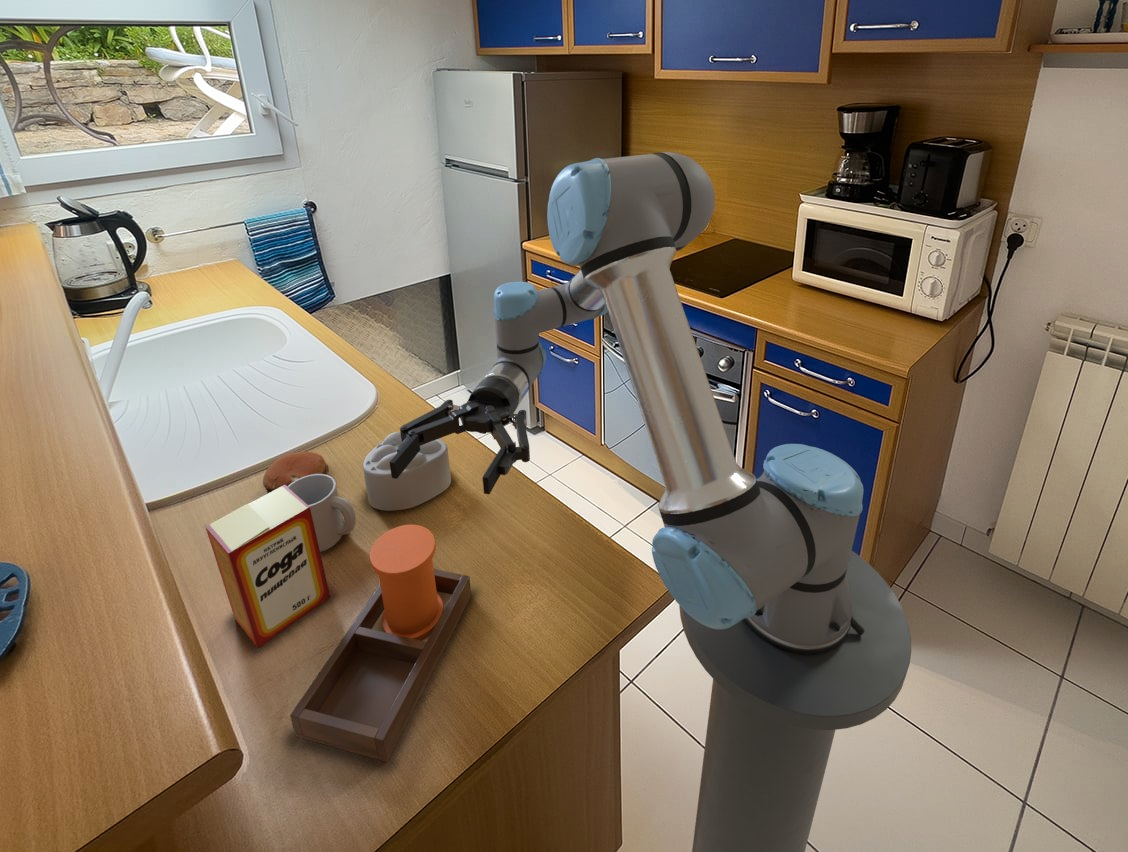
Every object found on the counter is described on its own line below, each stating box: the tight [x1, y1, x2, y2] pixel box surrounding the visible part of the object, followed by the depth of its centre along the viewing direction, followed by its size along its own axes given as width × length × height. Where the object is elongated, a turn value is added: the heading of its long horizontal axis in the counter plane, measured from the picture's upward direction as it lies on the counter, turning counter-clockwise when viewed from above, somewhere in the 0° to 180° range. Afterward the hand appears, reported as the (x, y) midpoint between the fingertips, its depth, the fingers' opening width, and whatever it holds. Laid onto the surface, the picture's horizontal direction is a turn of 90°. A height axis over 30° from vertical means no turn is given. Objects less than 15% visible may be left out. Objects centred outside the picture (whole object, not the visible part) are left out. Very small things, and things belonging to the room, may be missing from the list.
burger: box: [262, 451, 330, 494], centre depth 100 cm, size 10×9×5 cm
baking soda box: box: [205, 485, 331, 649], centre depth 76 cm, size 10×6×16 cm
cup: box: [287, 474, 357, 553], centre depth 89 cm, size 7×10×9 cm
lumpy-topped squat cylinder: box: [362, 431, 452, 512], centre depth 99 cm, size 10×13×9 cm
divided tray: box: [289, 568, 472, 763], centre depth 72 cm, size 11×21×4 cm, turn 167°
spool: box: [369, 524, 444, 641], centre depth 75 cm, size 8×8×12 cm
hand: (438, 478), depth 80 cm, fingers open, 13 cm apart
